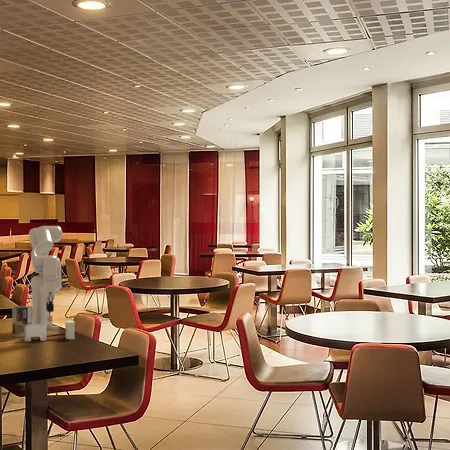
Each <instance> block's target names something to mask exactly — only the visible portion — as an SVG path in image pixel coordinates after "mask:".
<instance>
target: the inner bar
mask: <svg viewBox="0 0 450 450" xmlns="http://www.w3.org/2000/svg"><path fill="white" fill-rule="evenodd" d="M48 334H49V335H50V334H51V335H53V334H55V335H57V334H61V326H60V325H53V315H52V314H49V315H47V335H48Z"/></svg>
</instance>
